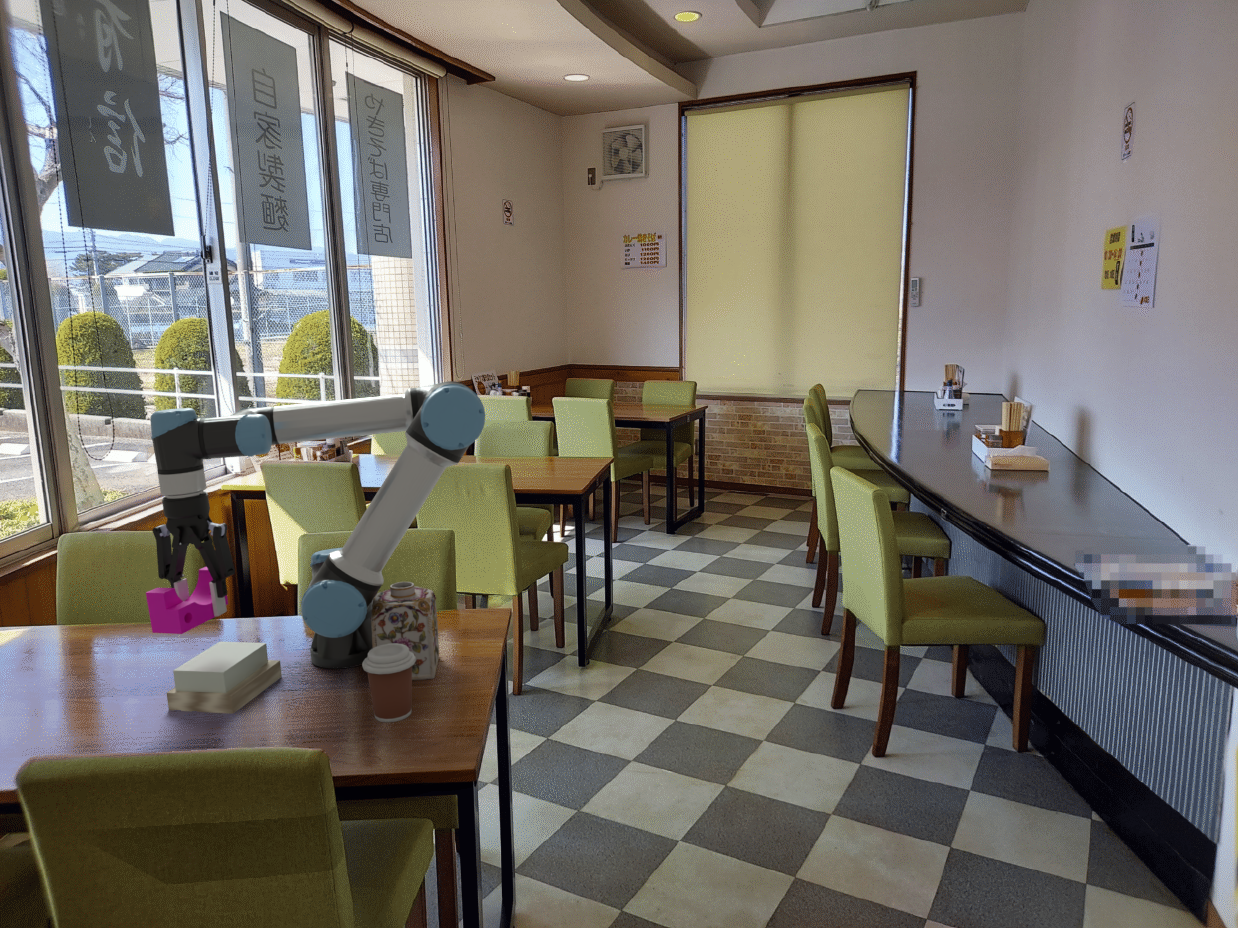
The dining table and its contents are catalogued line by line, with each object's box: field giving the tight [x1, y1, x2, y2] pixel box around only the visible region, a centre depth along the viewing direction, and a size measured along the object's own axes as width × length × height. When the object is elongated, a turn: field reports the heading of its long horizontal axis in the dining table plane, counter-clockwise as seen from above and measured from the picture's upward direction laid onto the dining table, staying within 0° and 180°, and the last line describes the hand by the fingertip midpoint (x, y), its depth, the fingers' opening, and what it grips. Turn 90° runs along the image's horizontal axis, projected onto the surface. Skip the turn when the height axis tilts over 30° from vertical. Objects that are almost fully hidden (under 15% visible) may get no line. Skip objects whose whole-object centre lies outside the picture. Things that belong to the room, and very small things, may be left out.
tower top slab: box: [172, 641, 269, 693], centre depth 160 cm, size 10×14×4 cm
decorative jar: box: [370, 581, 440, 681], centre depth 168 cm, size 12×12×18 cm
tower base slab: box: [166, 659, 283, 715], centre depth 161 cm, size 13×16×4 cm
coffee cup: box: [361, 643, 416, 723], centre depth 150 cm, size 9×9×12 cm
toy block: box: [145, 566, 229, 635], centre depth 155 cm, size 15×6×8 cm, turn 166°
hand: (202, 613), depth 157 cm, fingers closed on toy block, 7 cm apart
